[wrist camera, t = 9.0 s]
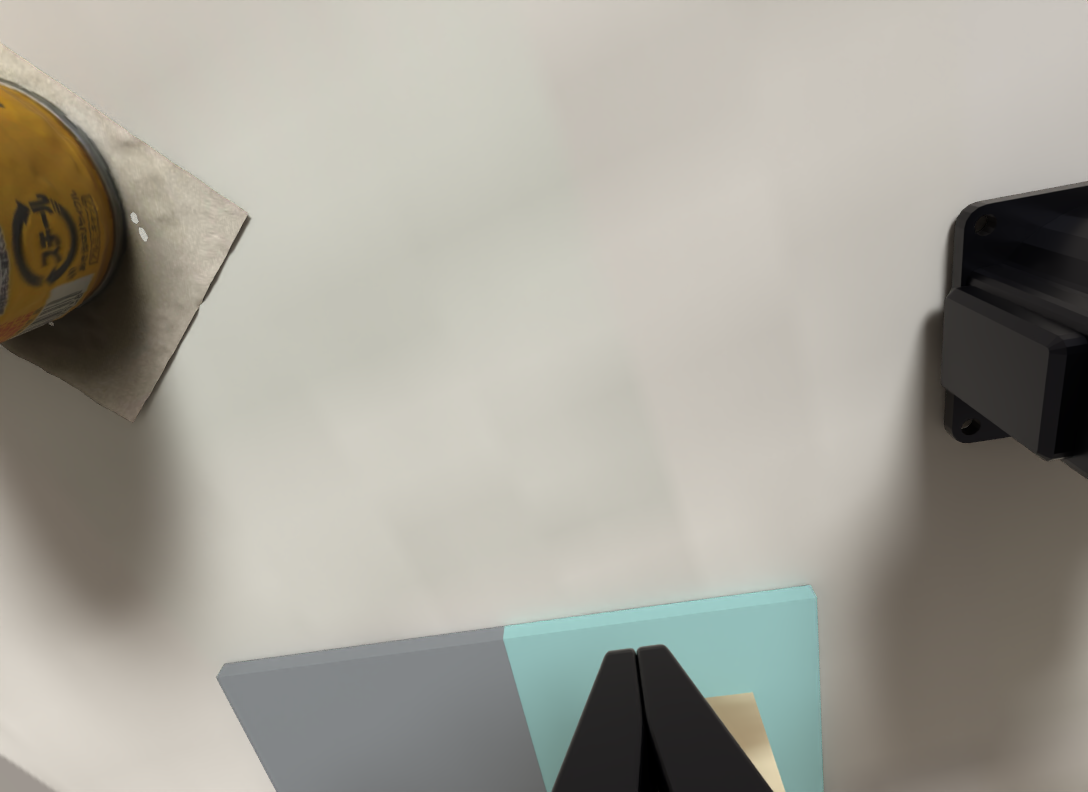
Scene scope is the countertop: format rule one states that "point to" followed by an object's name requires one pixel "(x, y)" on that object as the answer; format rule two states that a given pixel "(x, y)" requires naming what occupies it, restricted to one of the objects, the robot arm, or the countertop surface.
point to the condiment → (97, 242)
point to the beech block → (748, 733)
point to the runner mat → (518, 696)
